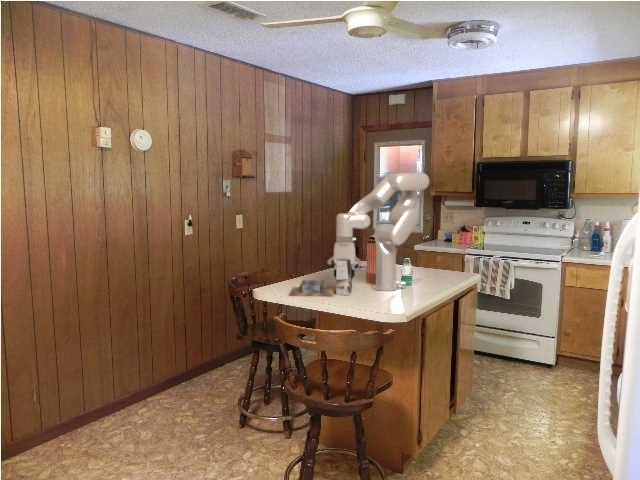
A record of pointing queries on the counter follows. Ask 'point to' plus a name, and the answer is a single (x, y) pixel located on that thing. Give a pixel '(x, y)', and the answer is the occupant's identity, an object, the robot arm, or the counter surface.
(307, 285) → the dock
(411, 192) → the robot arm
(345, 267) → the coffee box
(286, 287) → the counter surface
